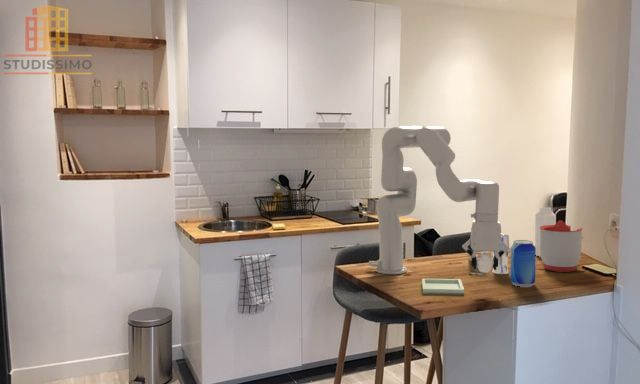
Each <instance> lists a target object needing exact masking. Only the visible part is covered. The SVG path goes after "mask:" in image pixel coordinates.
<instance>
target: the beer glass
mask: <svg viewBox="0 0 640 384" xmlns="http://www.w3.org/2000/svg"><path fill="white" fill-rule="evenodd" d="M501 235H502V241H503V242H504V243H505V244H506V245H507V246H508V247H509V249H508V250H507V251H506V252H505V253H504V254H503V255H502V256H501V257H500V258H499V259H498V267H496V270H494V269H493V268H492V271H491V272H492V273H493V274H495V275H507V274H509V269H508V268H509V267H508V260H509V256H510V250H511V246H510V235H509V234H505V233H504V234H503V233H501ZM502 249H503V246H502V247H501V250H502ZM498 252H499V251H498ZM493 257H494V252H493V251H491V258H493Z"/></svg>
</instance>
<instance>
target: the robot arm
mask: <svg viewBox="0 0 640 384" xmlns="http://www.w3.org/2000/svg"><path fill="white" fill-rule="evenodd" d="M451 139H452V137H451V134H450V132H449V130H448V129H447V128H446V127H444V126H419V125H411V126H408V125H399V126H394V127H391V128H389V129H388V130H386V131H385V132H384V134H383V136H382V139H381V154H382V157H381V159H382V161H381V173H380V175H381V176H380V183H381V184H380V185H381V188H382V189H383V190H384V191H386V192H397V193H391V194H385V195H383V196H381V197H380V198H379V199H378V200H377V201H376V205H375V211H376V213H377V221H378V235H379V236H378V238H379V239H378V240H379V242H378V243H379V245H378V246H379V248H378V249H379V259H377V260H369V261H368V266H371V267H376V269H375V271H376V272H377V274H378V273H379V274H383V275H401V274H406V273H407V270H408V268H407V267H406V266H404V243H403V242H404V241H403V239H404V238H403V236H404V235H403V225H402V222H401V220H400V219H399V218H400V217H405V216H409V215H411V214H412V213H413V212H414V211H415V208H416V202H417V200H416V199H417V186H418V179H417V175H416V172H415V171H414V170H413V169H412V168H410V167H406V166H404V155H403V152H402V150H401V149H403V148H404V149H409V148H414V149H415V148H420V149H421V151H422V152H423V153H424V155H426V157H427V158H428V159H429V161H430V162H431V164H432V165H433V166H434V168H435V177H436V180H437V183H438V185H439V187H440V188H441V190H442V191H443V192H444V194H445V195H446V196H447V197H448V198H449V199H450V200H451V201H452V202H456V203H464V202H471V201H475V209H474V210H475V211H474V212H473V213H470V218H471V219H474V220H473V221H472V224H471V229H470V230H471V231H470V238H469V239H468V240H467V241H466V242H465V243H463V244H462V246H461V247H462V249H463V250H464V251H465V252H467V254H468V255H469V256H470V257H471V261H470V265H471V267H472V269H474V270H476V269H477V265H476V259H477V256H476V255H477V254H478V252H492V251H493V252H494V257H492V259H493V260H494V264H493V266H492V270H493V269H494V270H496V267H498V259H499V258H500V257H501V256H502V255H503V254H504V253H505V252H506V251H507V250H508V249H509V247H508V246H507V245H506V244H505V243H504V242H503V241H502V235H501V234H502V226H501V222H500V221H499V199H500V185H499V183H498V182H494V181H484V180H480V179H476V178H474V179H471V178H469V179H461V180H460V179H459V178H458V177H457V176H456V174H455V173H454V171H453V169H452V168H451V167H452V166H451V165H452V163H453V162H454V161H455V159H456V154H455V151H453V149H452V148H451V146H449V145H450V143H451ZM469 246H470V248H471V249H470V248H469ZM502 246H503V249H502V250H501V247H502ZM509 250H510V249H509ZM498 251H499V252H498Z"/></svg>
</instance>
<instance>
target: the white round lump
mask: <svg viewBox="0 0 640 384" xmlns="http://www.w3.org/2000/svg"><path fill="white" fill-rule="evenodd" d="M493 264H494V260H493V257H492V256H491V254H490V253H489V252H488V251H481V252H480V253H479V256H478V257H476V268H478V270H479V272H480V273H487V274H488V273H489V272H490V271H491V269H493Z"/></svg>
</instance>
